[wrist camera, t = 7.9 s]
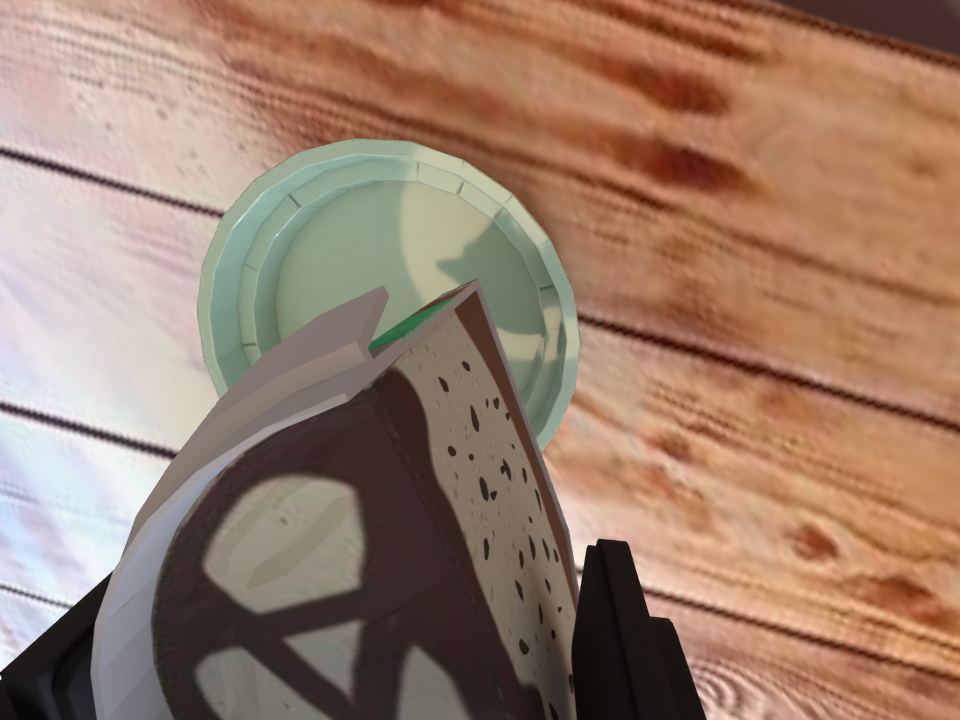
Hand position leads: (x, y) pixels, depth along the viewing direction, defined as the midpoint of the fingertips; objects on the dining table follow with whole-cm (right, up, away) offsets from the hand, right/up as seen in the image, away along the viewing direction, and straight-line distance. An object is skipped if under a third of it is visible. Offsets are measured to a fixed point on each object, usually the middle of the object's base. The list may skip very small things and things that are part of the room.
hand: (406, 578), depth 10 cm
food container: (0, +2, +6) cm, 6 cm away
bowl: (-3, +7, +19) cm, 20 cm away
